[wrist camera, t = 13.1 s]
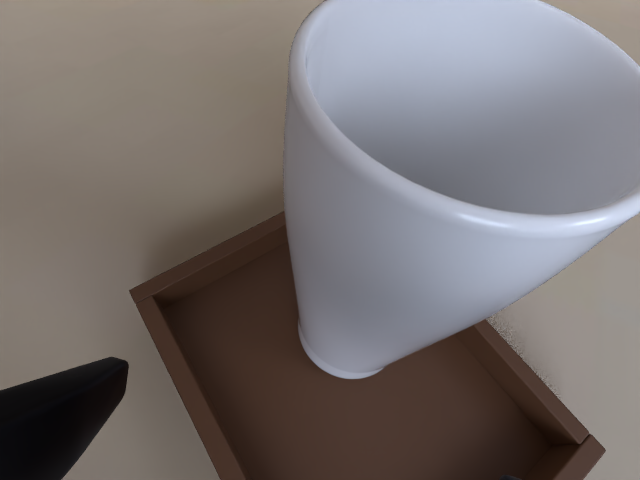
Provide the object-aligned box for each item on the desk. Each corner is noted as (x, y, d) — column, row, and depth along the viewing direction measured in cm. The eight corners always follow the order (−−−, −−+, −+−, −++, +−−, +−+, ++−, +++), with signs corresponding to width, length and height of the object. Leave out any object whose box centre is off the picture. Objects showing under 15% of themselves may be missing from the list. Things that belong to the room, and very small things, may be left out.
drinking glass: (272, 282, 20) (252, -27, 7) (385, 260, 21) (541, -34, 8) (299, 414, 17) (351, 283, 4) (431, 378, 18) (791, 192, 5)
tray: (567, 450, 17) (607, 450, 15) (345, 711, 13) (358, 763, 10) (347, 200, 24) (353, 175, 22) (145, 308, 19) (128, 289, 17)
